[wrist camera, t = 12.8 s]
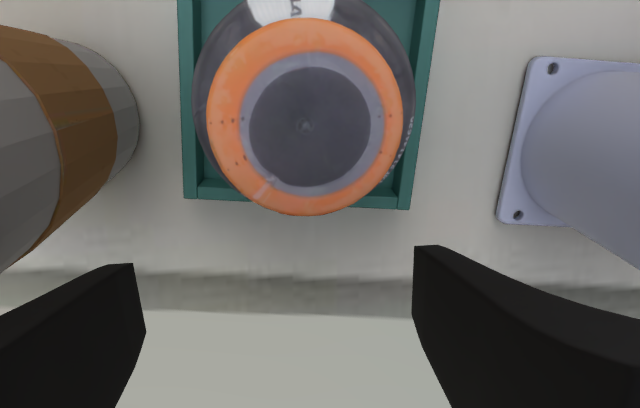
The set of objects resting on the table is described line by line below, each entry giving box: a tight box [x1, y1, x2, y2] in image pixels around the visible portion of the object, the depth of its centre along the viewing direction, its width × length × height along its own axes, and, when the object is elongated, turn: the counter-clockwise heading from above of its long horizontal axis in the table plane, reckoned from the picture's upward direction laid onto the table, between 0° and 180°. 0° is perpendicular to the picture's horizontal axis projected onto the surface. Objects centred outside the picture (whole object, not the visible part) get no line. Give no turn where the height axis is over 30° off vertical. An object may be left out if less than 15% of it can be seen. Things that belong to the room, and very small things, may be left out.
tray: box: [177, 0, 440, 210], centre depth 19 cm, size 10×10×2 cm
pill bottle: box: [191, 0, 416, 216], centre depth 14 cm, size 6×6×11 cm
